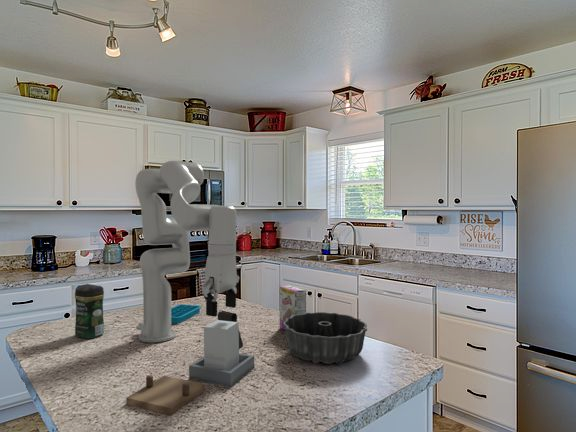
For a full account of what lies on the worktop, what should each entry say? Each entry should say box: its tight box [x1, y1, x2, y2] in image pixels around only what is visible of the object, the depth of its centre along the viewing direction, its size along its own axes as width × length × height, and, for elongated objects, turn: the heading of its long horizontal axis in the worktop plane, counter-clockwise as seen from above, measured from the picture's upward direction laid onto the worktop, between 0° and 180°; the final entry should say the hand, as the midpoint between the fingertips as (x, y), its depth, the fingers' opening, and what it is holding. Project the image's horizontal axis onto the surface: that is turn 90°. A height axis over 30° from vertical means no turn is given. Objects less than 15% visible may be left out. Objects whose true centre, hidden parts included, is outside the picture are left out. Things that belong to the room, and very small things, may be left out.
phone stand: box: [217, 310, 244, 349], centre depth 127 cm, size 9×6×12 cm, turn 145°
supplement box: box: [203, 319, 240, 371], centre depth 108 cm, size 7×7×13 cm
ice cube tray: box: [171, 303, 202, 324], centre depth 165 cm, size 12×20×3 cm, turn 165°
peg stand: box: [125, 374, 206, 416], centre depth 94 cm, size 13×13×4 cm
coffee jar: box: [74, 283, 105, 340], centre depth 140 cm, size 10×8×19 cm
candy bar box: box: [278, 285, 307, 331], centre depth 145 cm, size 11×5×16 cm, turn 35°
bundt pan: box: [283, 311, 368, 365], centre depth 122 cm, size 26×26×10 cm
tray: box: [188, 352, 255, 388], centre depth 107 cm, size 13×13×4 cm
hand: (221, 311), depth 108 cm, fingers open, 9 cm apart
